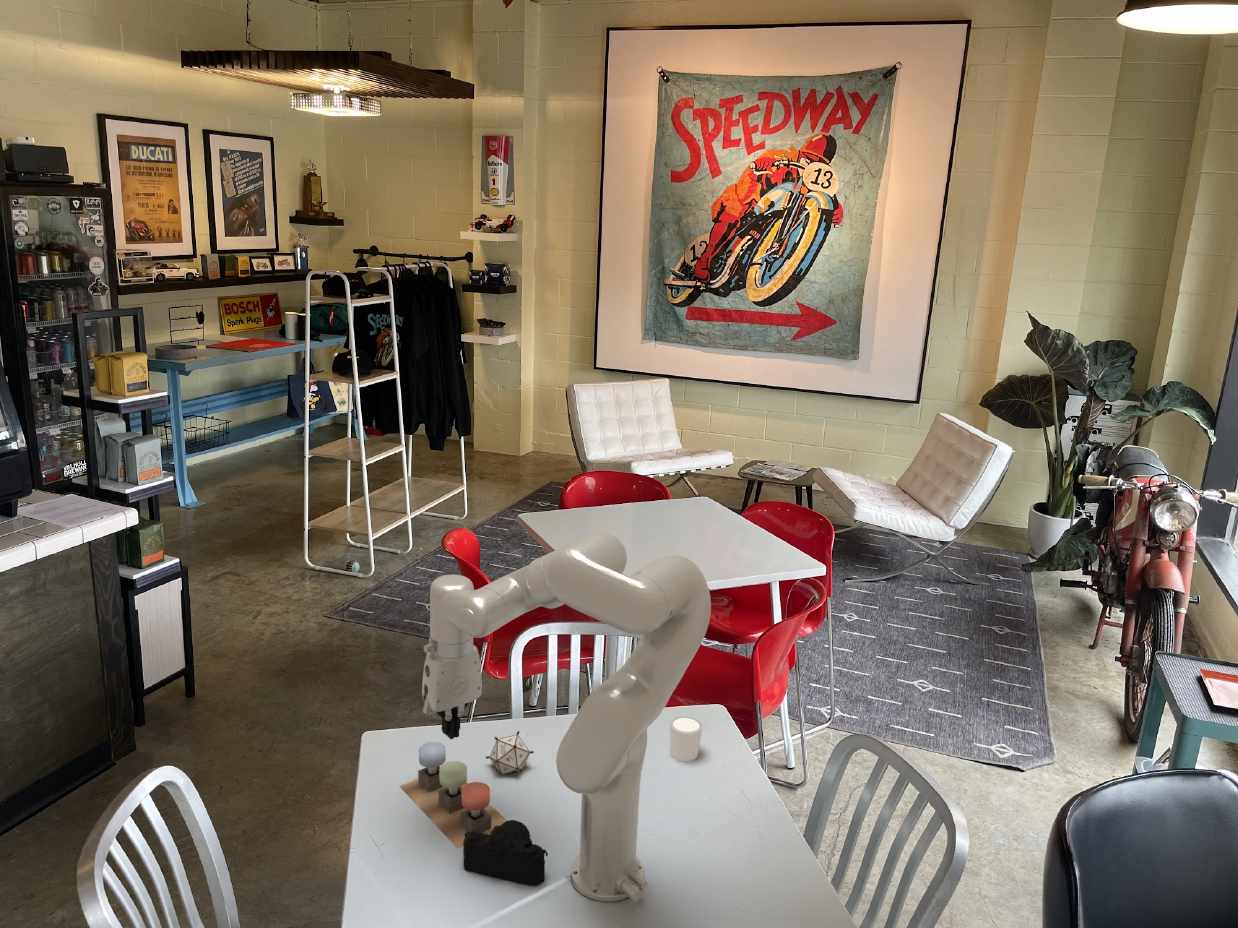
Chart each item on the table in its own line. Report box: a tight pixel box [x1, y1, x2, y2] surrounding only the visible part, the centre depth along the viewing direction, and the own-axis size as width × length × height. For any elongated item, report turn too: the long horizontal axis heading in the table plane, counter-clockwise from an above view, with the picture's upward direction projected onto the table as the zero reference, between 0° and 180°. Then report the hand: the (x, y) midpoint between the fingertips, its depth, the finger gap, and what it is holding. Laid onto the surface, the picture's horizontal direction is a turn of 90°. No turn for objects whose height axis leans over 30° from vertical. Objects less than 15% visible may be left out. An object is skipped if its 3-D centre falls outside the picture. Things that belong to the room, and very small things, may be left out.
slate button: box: [418, 741, 447, 774], centre depth 178 cm, size 5×5×5 cm
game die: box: [484, 730, 535, 775], centre depth 185 cm, size 9×8×10 cm
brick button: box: [462, 781, 491, 817], centre depth 167 cm, size 5×5×5 cm
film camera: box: [462, 819, 549, 887], centre depth 159 cm, size 15×10×9 cm, turn 74°
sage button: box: [439, 760, 468, 795], centre depth 172 cm, size 5×5×5 cm
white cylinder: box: [669, 715, 704, 763], centre depth 194 cm, size 7×7×7 cm
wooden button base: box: [399, 765, 508, 849], centre depth 174 cm, size 22×11×4 cm, turn 39°
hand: (450, 734), depth 170 cm, fingers closed
